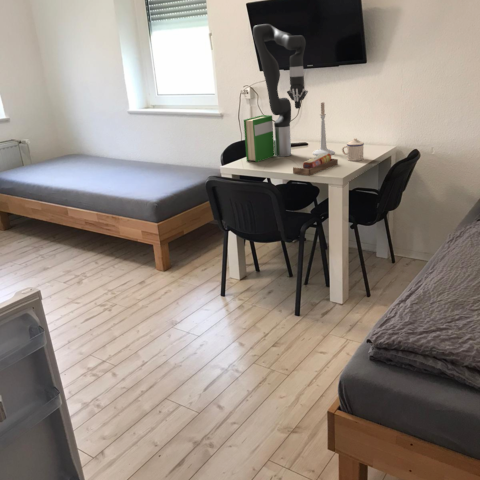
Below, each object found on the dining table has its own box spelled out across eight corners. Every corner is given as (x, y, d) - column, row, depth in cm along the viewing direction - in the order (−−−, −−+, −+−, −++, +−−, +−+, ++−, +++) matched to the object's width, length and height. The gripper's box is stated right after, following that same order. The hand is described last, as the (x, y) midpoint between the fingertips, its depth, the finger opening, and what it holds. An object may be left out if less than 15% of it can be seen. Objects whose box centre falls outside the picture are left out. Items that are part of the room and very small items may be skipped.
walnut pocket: (293, 173, 267) (292, 167, 266) (321, 162, 285) (321, 157, 284) (309, 175, 261) (309, 169, 260) (337, 164, 278) (337, 159, 277)
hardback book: (256, 162, 299) (253, 120, 290) (246, 161, 303) (243, 119, 295) (274, 155, 312) (272, 115, 303) (264, 155, 316) (261, 115, 308)
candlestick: (333, 150, 312) (333, 99, 302) (335, 155, 301) (334, 102, 290) (312, 152, 314) (310, 101, 303) (313, 156, 302) (311, 103, 292)
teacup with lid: (365, 158, 288) (366, 137, 283) (360, 161, 280) (360, 140, 276) (345, 157, 293) (345, 136, 289) (339, 160, 286) (339, 139, 282)
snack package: (313, 174, 264) (313, 160, 261) (301, 173, 267) (301, 160, 265) (331, 164, 280) (331, 152, 277) (320, 164, 283) (320, 151, 281)
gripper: (282, 76, 280) (284, 109, 286) (302, 75, 271) (303, 109, 277) (291, 75, 285) (292, 107, 291) (310, 74, 276) (311, 107, 282)
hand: (297, 108), depth 284 cm, fingers closed
